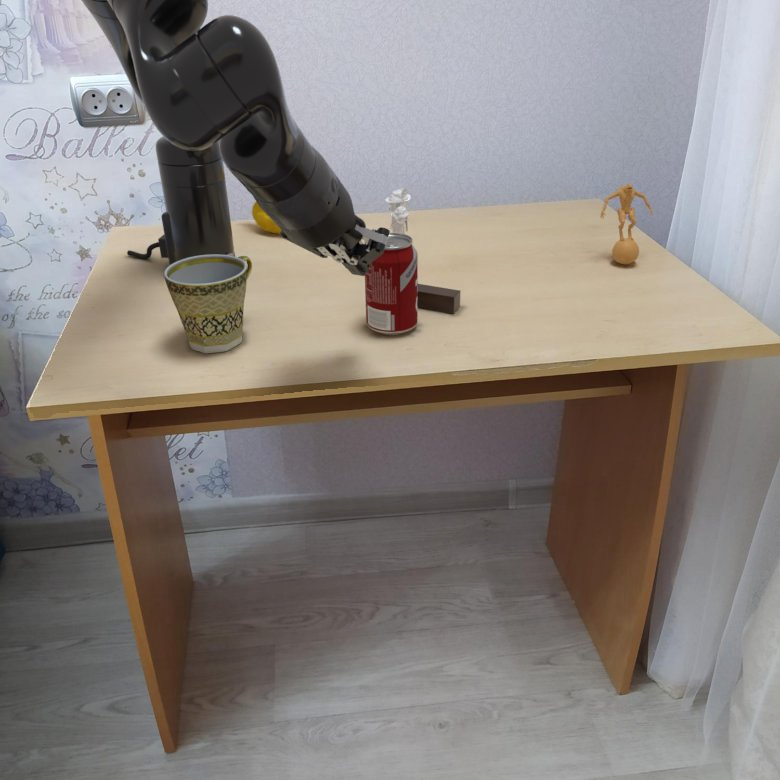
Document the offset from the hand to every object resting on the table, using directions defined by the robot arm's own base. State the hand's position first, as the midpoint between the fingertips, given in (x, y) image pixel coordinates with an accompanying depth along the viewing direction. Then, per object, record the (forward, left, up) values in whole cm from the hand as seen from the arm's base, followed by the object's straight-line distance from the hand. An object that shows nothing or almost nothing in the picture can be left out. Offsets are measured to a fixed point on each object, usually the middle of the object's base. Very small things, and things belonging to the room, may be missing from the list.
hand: (361, 267), depth 90 cm
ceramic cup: (-19, +2, -12) cm, 22 cm away
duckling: (-25, +43, -12) cm, 51 cm away
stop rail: (+4, +16, -11) cm, 20 cm away
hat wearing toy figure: (-1, +33, -12) cm, 35 cm away
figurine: (+34, +36, -12) cm, 51 cm away
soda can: (+2, +8, -12) cm, 14 cm away
